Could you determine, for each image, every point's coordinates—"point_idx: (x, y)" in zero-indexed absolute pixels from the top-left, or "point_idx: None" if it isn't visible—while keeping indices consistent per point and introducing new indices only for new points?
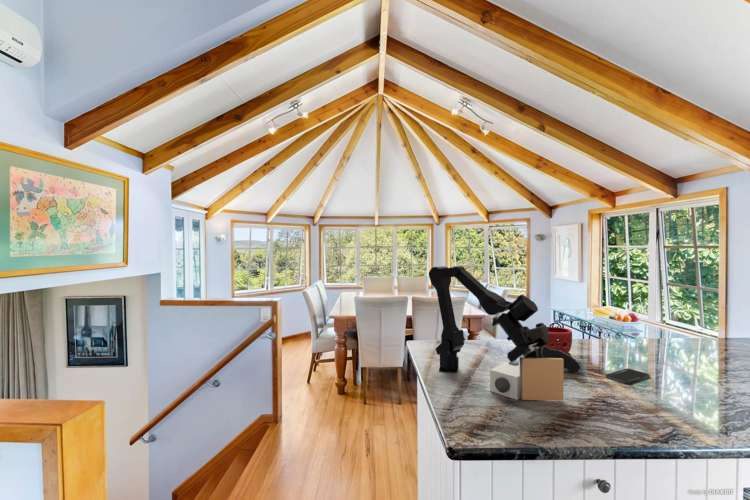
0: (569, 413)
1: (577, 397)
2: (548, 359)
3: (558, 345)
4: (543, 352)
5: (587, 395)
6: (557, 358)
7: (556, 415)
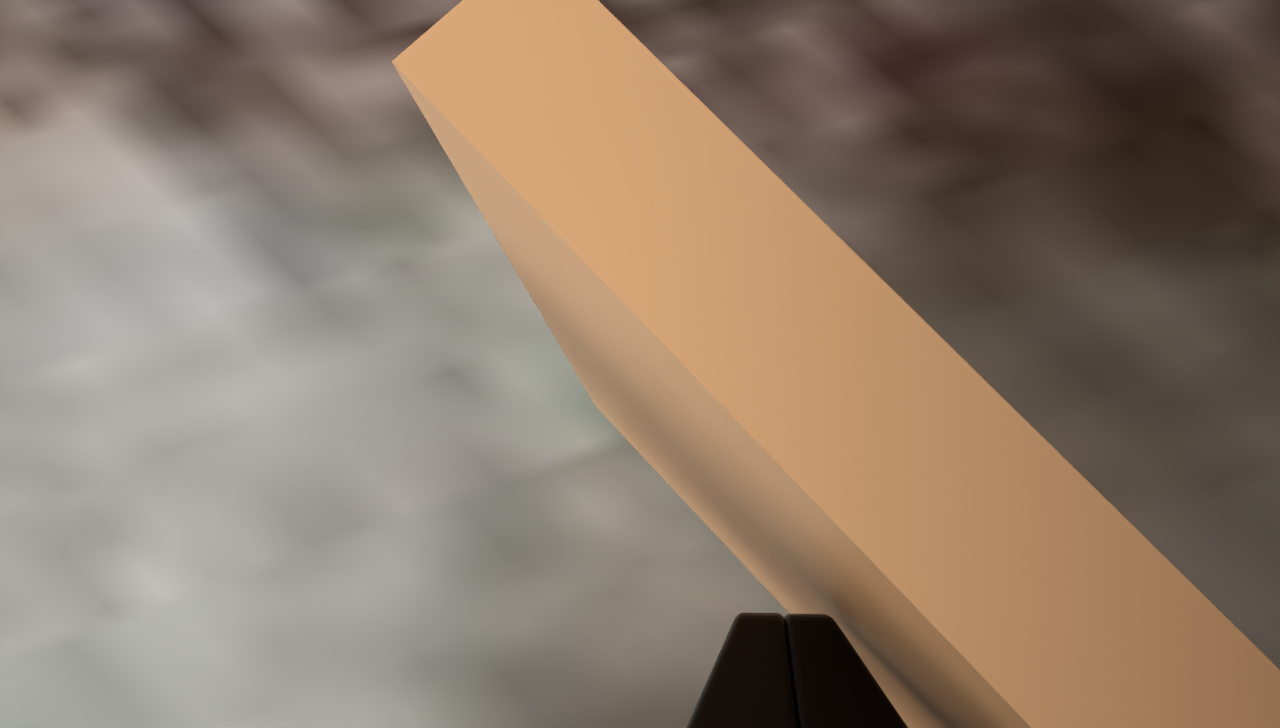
0: (1003, 154)
1: (253, 274)
2: (1161, 554)
3: None
4: None
5: (48, 186)
6: (632, 215)
7: (1243, 268)
